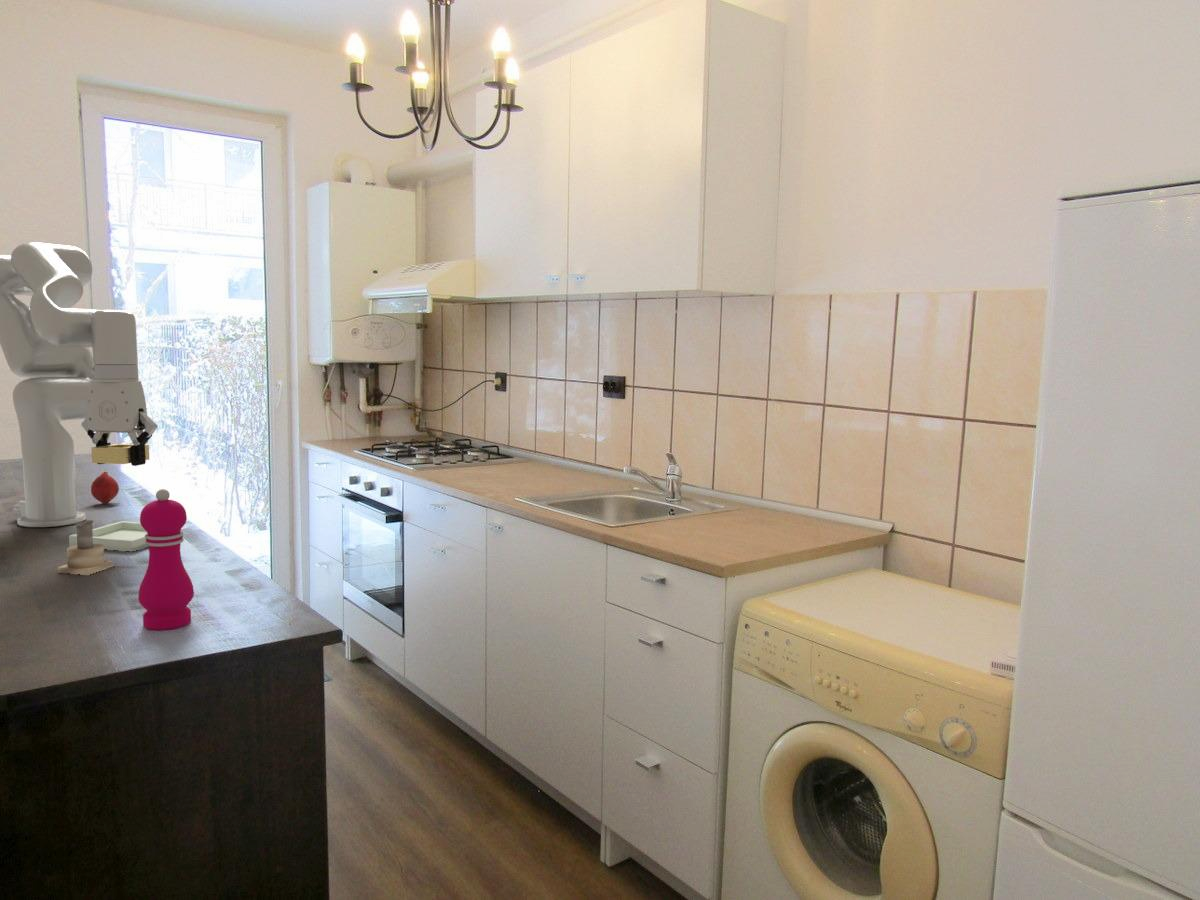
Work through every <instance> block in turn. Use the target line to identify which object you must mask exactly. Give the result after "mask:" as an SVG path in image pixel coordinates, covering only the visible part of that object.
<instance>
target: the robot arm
mask: <svg viewBox="0 0 1200 900" xmlns="http://www.w3.org/2000/svg"><path fill="white" fill-rule="evenodd" d="M92 276H93V265H92V260H91V259H90V257H89V255H88V254H87V252H85V251H84V250H83V249H81V248H80V247H77V246H73V245H65V244H55V243H47V242H46V243H45V242H38V241H37V242H25V243H22V244H20V245H18V246H16V247H15V248H14V249H13V250H12V252H11V255H9V254H0V347H1V350H2V352H3V356H4V358H5V360H6V363H7V365H8V367H9V370H10V371H11V372H12V373H13V374H14V375H16V376H17V377H19V378H24V379H22V380H21V381H19V382H18V383H17V384H16V385H15V386H14V388H13V391H12V403H13V406H14V410H15V413H16V417H17V422H18V426H19V434H20V445H21V447H20V448H21V459H22V475H23V477H22V478H23V492H24V500H19V501H17V503H16V504H13V506H12V511H15V512H16V511H17V512H21V516H19V517H18V518H17V519H16V522H17V525H18V526H20V527H25V528H51V527H54V528H55V527H62V526H68V525H75V524H76V523H79V522H83V521H86V519H87V517H86V516H87V515H86V513H85V512H84V511H79V510H78V500H77V499H78V497H77V482H76V481H77V479H76V477H77V476H76V463H75V462H76V461H75V459H76V458H75V445H74V444H75V443H74V440H73V438H72V436H71V434H70V433H69V431H67V429H66V428H65V427H64V426H63V425H62V424H61V422H63V421H64V422H65V421H77V420H78V421H79V420H83V421H82V422H81V427H82V428H83V430H84V431H85V432H87V435H88V437H89V438H90V439H91V442H92V444H93V445H95V447H98V446H105V445H112V444H111V442H108V441H109V439H110V436H111V434H112V433H121V434H123V433H124V434H126V433H127V434H128V437H129V440H130V441H131V442H132V443H131V444H134V445H132V446H131V447H130V448H131V463H130V464H131V466H133V467H137V466H141V465H145V464H146V461H147V460H145V459H146V456H145V445H148V443H149V440H151V438H152V437H153V434H154V433H155V432H156V430H157V429H158V427H159V426H158V424H157V423H156V422H155V421H154V420H153V419H152V418H150V416H149V415H148V408H147V402H146V395H145V391H144V388H143V385H142V381H141V380H140V379H139V365H138V364H139V361H138V343H137V342H138V341H137V340H138V339H137V338H138V337H137V324H136V316H135V314H134V313H132V312H131V311H129V310H124V309H123V310H121V309H120V310H119V309H93V308H74V307H73V306H75V305H77V303H78V302H79V301H80V300H81V298H83V297H82V296H83V293H84V286H86V285H87V284H88V283H89V282H90V280H91V279H92ZM16 296H29V297H31V299H30V301H29V306H28V305H27V304H25V303H24V302H22V301H21V300H19V298H17V297H16ZM72 307H73V308H72ZM90 348H92V352H91V350H90ZM96 464H97V465H104V464H106V463H96Z"/></svg>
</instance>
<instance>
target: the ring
mask: <svg viewBox="0 0 1200 900" xmlns="http://www.w3.org/2000/svg"><path fill="white" fill-rule="evenodd" d="M132 445H134V444H133V443H113V444H111V445H105V446H98V447H96V446H93V447H91V463H92V464H97V463H105V464H114V465H127V464H131V448H130V447H131V446H132ZM145 456H146V459H145V461H148V460H150V444H145Z"/></svg>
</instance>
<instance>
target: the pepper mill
mask: <svg viewBox="0 0 1200 900" xmlns="http://www.w3.org/2000/svg"><path fill="white" fill-rule="evenodd" d="M155 498H156V500H153V501H151V502H148V503H147V504H146V505H144V507H143V508H142V509H141V511H140V516H139V522H140V523H141V526H142V527H143V528H144V529H145V530H146V531H147V534H145V538H146V541H145V544H146V545H148V547H147V548H148V552H149V553H148V554H149V555H148V564H147V568H146V571H145V573H144V576H143V578H142V580H141V582H140V586H139V589H138V597H137V598H138V603H139V604H140V605H141V606H142V608H143V609H145V610H146V611H145V612H144V613H143V614H142V622H143V623H142V625H143V628H145V629H147V630H151V631H167V630H174V629H178V628H179V629H180V628H182V627H184V626H187V625H188V624H190V623H191V621H192V610H191V608H190V607H189V606H188V605H189V604H190V602H191V601H192V600H193V598H194V595H195V592H194V584H193V582H192V579H191V577H190V575H189V574H188V572H187V570H186V568H185V566H184V563H183V560H182V555H181V545H182V543H183V542H184V533H185V532H184V531H182V528H183V527H184V526H185V525H186V523H187V520H188V518H187V512H186V508H185V507H184V506H183V504H182V503H180V502H178V501H176V500H173V499H169V498H170V492H169V491H168V490H167V489H164V488H161V489H159V490H157V491H156V493H155Z"/></svg>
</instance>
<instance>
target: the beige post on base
mask: <svg viewBox="0 0 1200 900" xmlns="http://www.w3.org/2000/svg"><path fill="white" fill-rule="evenodd" d="M93 523H94V520H91V519H88V520H83V521H81V522H78V523H74V527H76V529H75V530H76V531H75V532H76V534H77V545H75V546H71V547H67V548H66V559H67V560H66V561H67V562H66V564H64V565H60V566H58V567H57V573H58V574H59V573H60V574H67V573H70V574H71V575H78V574H80V575H81V576H91V575H93V573H94V574H96V572H97V573H99V571H100V572H102V570H103V571H106V570H108V569H110V567H111V568H113V566H114V567H115V561H114V560H106V559H105V550H104V546H103V545H101V544H93V531H92V529H93ZM107 568H108V569H107ZM70 574H69V575H70ZM90 574H91V575H90Z"/></svg>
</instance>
